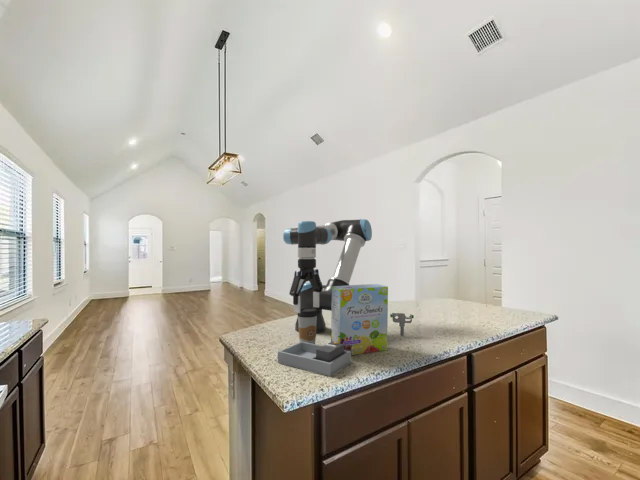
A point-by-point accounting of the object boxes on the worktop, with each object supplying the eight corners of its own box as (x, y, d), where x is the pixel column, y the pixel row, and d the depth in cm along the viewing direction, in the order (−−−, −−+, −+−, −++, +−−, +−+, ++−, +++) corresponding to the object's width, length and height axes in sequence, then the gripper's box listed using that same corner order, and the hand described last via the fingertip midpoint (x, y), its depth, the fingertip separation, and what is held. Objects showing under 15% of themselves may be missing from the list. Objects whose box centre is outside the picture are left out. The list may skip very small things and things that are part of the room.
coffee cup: (302, 350, 128) (302, 312, 128) (294, 344, 135) (294, 308, 136) (321, 347, 132) (320, 310, 132) (312, 341, 139) (311, 307, 139)
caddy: (277, 362, 115) (277, 351, 115) (301, 351, 127) (301, 341, 127) (330, 376, 103) (330, 363, 103) (351, 362, 115) (350, 351, 115)
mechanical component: (413, 337, 145) (413, 315, 145) (390, 336, 147) (390, 314, 147) (413, 335, 148) (413, 313, 148) (390, 334, 150) (390, 312, 150)
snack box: (340, 358, 119) (339, 288, 119) (330, 351, 127) (329, 285, 127) (389, 350, 127) (388, 285, 128) (376, 344, 135) (376, 282, 136)
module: (316, 367, 108) (316, 347, 108) (331, 358, 117) (331, 340, 117) (329, 370, 105) (329, 350, 106) (344, 361, 114) (344, 342, 114)
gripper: (295, 259, 121) (295, 316, 121) (330, 257, 142) (330, 306, 142) (280, 259, 126) (280, 314, 125) (316, 257, 146) (316, 304, 146)
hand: (307, 309), depth 134 cm, fingers open, 13 cm apart
